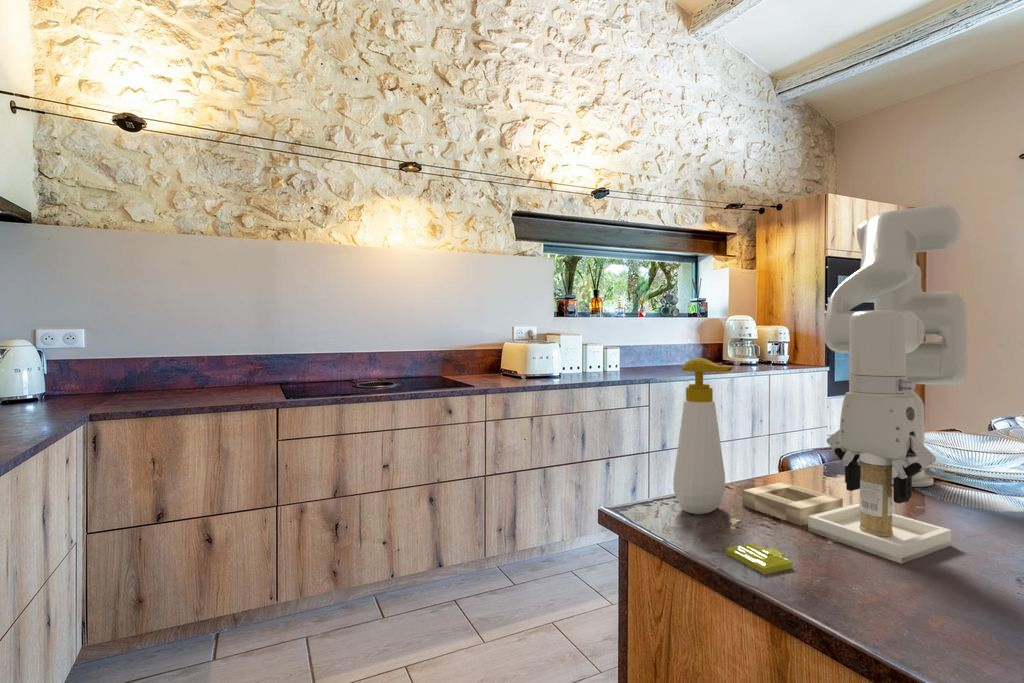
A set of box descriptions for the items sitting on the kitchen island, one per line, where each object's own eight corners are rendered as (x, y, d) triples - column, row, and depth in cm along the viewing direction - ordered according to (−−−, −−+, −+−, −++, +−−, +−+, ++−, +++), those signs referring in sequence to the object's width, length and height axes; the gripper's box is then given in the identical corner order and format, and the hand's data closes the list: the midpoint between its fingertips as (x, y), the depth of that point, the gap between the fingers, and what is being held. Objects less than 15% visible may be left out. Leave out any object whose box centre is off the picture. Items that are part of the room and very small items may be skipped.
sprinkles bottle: (900, 536, 81) (901, 453, 81) (875, 538, 80) (876, 454, 80) (875, 526, 86) (876, 447, 85) (851, 527, 85) (852, 447, 85)
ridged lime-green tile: (711, 556, 78) (711, 538, 78) (757, 547, 81) (757, 530, 81) (764, 586, 69) (764, 565, 68) (814, 575, 72) (814, 555, 72)
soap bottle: (716, 527, 88) (715, 360, 87) (662, 512, 95) (661, 358, 95) (746, 509, 96) (745, 357, 96) (694, 497, 104) (694, 356, 104)
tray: (857, 517, 92) (857, 503, 92) (951, 545, 79) (951, 529, 79) (808, 530, 86) (808, 516, 86) (901, 563, 73) (901, 546, 73)
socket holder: (782, 496, 104) (782, 481, 104) (842, 514, 93) (842, 498, 93) (742, 505, 99) (742, 490, 99) (800, 525, 88) (800, 508, 88)
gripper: (953, 389, 76) (953, 507, 76) (836, 380, 92) (837, 479, 92) (926, 392, 73) (926, 516, 73) (810, 382, 89) (810, 484, 89)
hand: (876, 494), depth 83 cm, fingers open, 6 cm apart
